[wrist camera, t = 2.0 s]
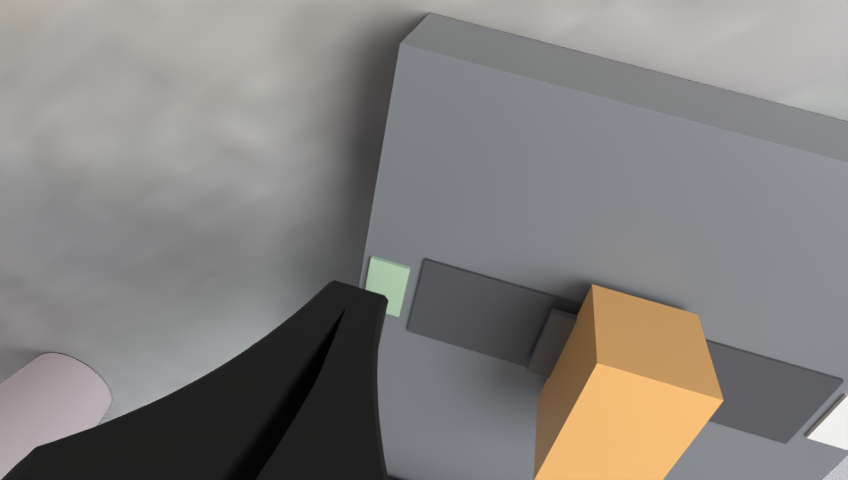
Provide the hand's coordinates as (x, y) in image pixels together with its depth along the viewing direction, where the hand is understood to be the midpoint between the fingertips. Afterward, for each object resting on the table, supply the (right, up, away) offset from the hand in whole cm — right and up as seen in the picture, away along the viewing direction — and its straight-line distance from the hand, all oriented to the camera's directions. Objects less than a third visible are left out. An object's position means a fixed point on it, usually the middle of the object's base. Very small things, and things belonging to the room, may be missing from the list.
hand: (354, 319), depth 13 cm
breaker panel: (+6, -4, +7) cm, 10 cm away
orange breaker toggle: (+6, -1, +1) cm, 6 cm away
